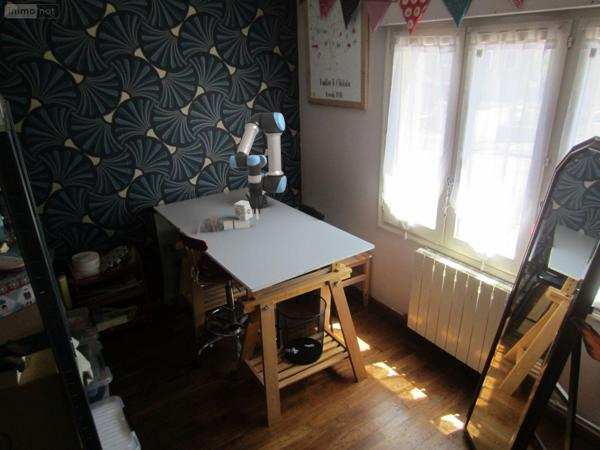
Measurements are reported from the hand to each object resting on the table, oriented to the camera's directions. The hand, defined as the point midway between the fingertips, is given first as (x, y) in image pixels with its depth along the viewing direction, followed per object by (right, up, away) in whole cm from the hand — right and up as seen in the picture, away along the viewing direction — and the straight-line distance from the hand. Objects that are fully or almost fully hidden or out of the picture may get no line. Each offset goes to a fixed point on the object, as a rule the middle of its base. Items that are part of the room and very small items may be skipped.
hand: (257, 218), depth 256 cm
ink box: (-11, 0, +17) cm, 20 cm away
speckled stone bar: (-13, -5, 0) cm, 14 cm away
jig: (-19, -7, 0) cm, 20 cm away
